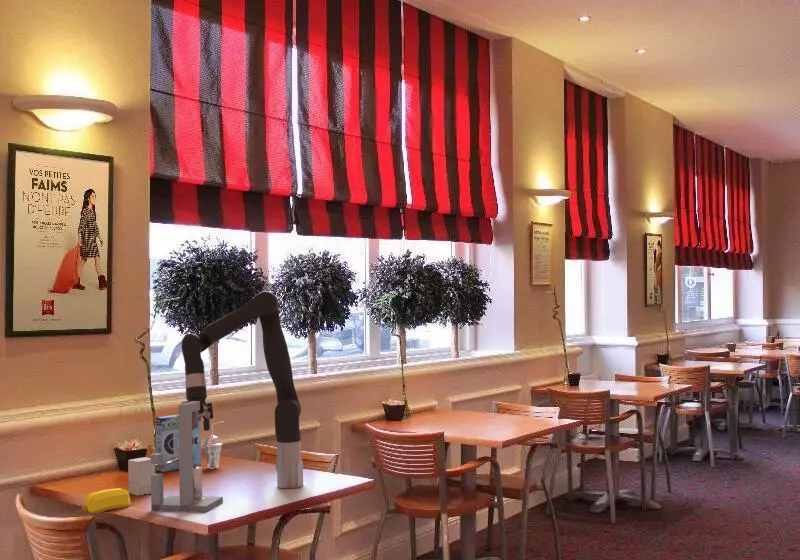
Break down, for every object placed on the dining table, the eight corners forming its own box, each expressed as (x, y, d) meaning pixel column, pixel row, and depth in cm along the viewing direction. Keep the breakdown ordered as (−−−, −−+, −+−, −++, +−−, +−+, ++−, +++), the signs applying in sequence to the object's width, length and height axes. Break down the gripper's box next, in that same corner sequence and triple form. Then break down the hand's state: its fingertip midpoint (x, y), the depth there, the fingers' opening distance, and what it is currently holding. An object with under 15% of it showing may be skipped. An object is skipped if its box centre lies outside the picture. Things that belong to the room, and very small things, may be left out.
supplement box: (156, 492, 321) (155, 458, 322) (137, 496, 316) (137, 461, 316) (146, 490, 326) (145, 456, 327) (128, 493, 321) (127, 459, 321)
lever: (186, 462, 314) (186, 453, 314) (161, 473, 294) (161, 464, 295) (178, 462, 314) (178, 453, 314) (152, 473, 295) (152, 463, 295)
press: (222, 502, 303) (221, 400, 304) (206, 512, 289) (204, 405, 290) (170, 501, 307) (168, 400, 308) (151, 510, 293) (149, 404, 294)
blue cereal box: (196, 464, 377) (195, 411, 378) (202, 465, 374) (201, 412, 374) (155, 470, 364) (155, 416, 364) (161, 472, 360) (161, 417, 361)
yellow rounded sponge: (136, 506, 301) (124, 503, 306) (136, 487, 301) (124, 484, 306) (88, 516, 288) (76, 513, 293) (87, 496, 288) (76, 493, 293)
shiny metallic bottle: (204, 498, 301) (204, 462, 302) (198, 501, 297) (198, 464, 297) (192, 497, 302) (191, 461, 302) (185, 500, 298) (185, 464, 298)
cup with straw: (207, 465, 373) (206, 419, 373) (227, 466, 371) (226, 419, 372) (200, 469, 364) (199, 422, 365) (220, 469, 363) (219, 422, 363)
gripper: (190, 383, 314) (193, 428, 310) (216, 386, 326) (219, 429, 322) (174, 387, 317) (177, 431, 313) (201, 389, 330) (204, 432, 325)
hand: (199, 430), depth 318 cm, fingers open, 8 cm apart
